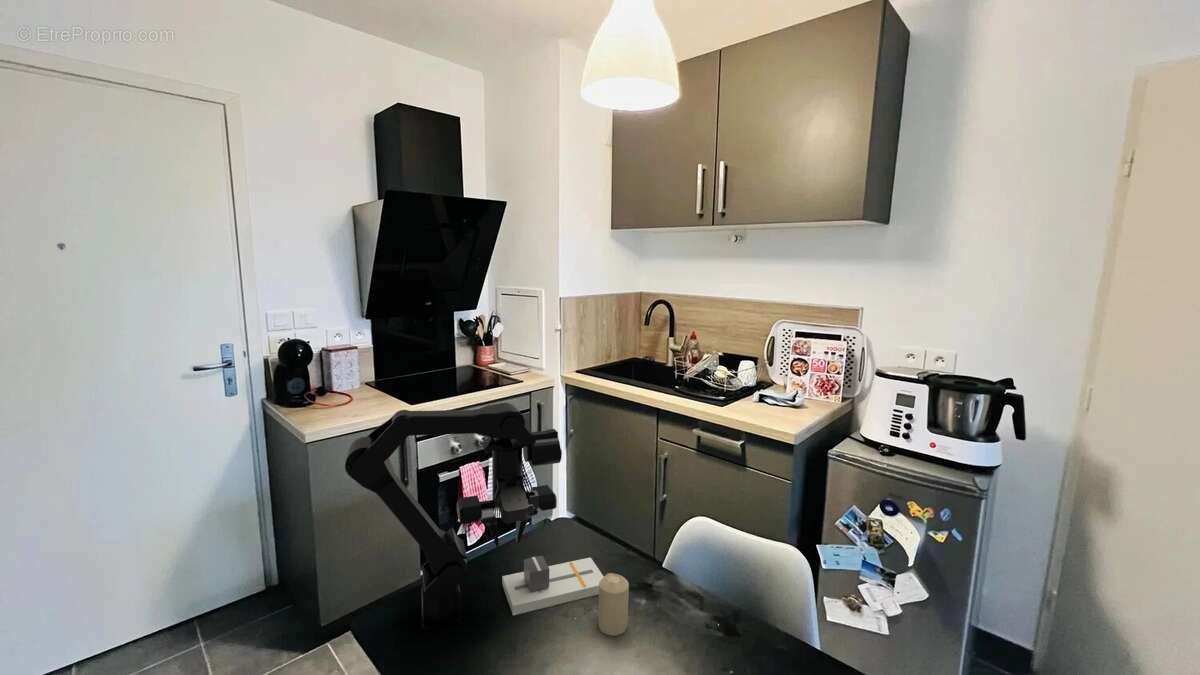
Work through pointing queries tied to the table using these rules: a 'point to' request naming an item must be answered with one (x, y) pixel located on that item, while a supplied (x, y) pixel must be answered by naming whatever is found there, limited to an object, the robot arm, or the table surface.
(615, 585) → the candle
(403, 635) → the table surface
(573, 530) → the table surface
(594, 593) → the slider track board
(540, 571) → the fader
